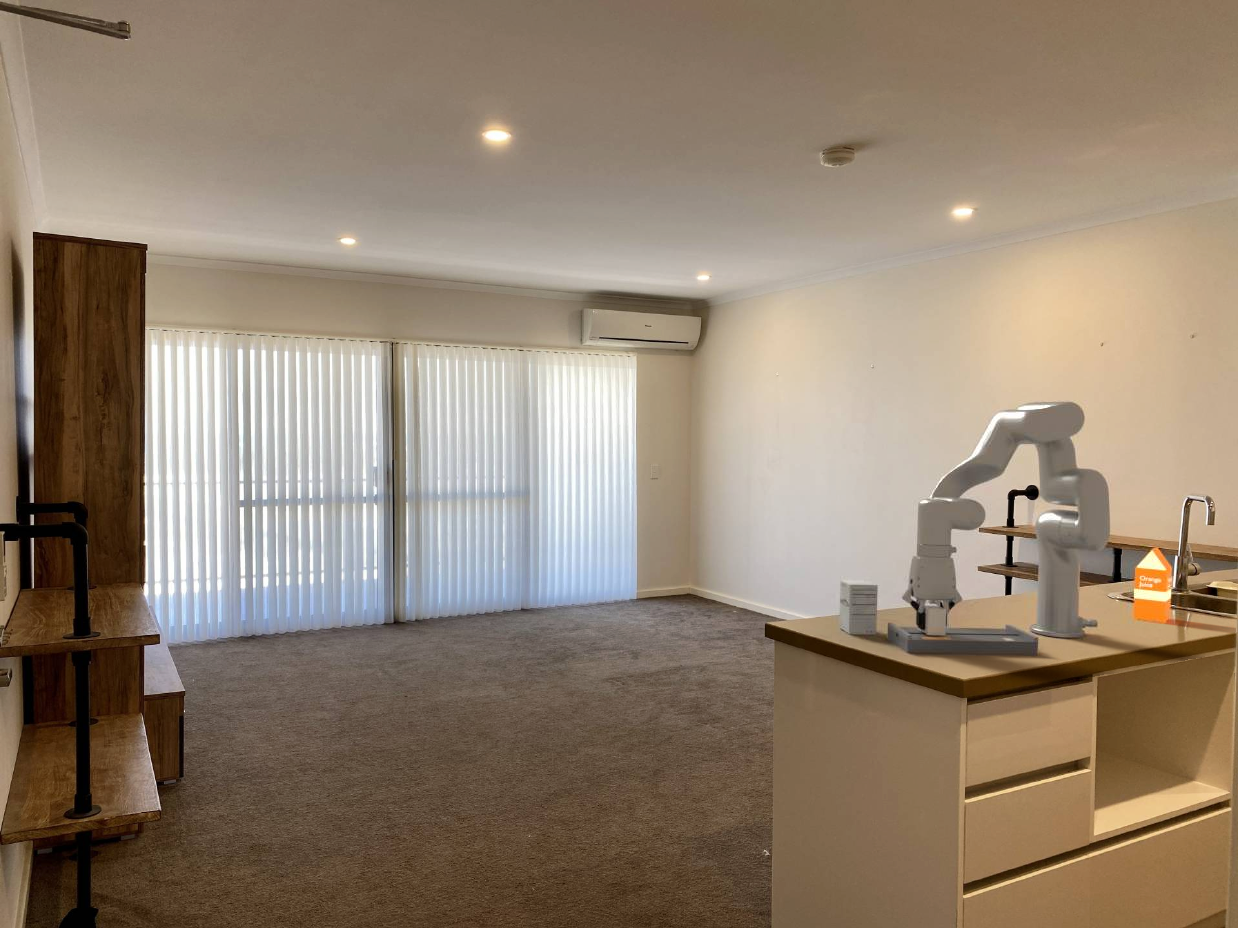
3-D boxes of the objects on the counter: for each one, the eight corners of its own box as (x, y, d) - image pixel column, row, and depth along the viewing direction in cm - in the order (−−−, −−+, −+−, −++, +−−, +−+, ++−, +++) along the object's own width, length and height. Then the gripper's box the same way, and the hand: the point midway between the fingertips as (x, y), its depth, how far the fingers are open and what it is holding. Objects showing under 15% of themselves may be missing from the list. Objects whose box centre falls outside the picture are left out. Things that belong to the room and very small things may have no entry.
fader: (933, 633, 210) (934, 603, 210) (945, 640, 203) (946, 609, 203) (917, 633, 210) (918, 603, 210) (928, 640, 203) (929, 609, 203)
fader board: (1009, 640, 214) (1009, 624, 214) (1037, 654, 200) (1038, 637, 200) (887, 638, 214) (887, 622, 213) (907, 652, 200) (907, 635, 200)
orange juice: (1132, 619, 245) (1135, 548, 245) (1139, 614, 252) (1141, 545, 252) (1165, 623, 240) (1168, 550, 240) (1170, 618, 247) (1173, 548, 246)
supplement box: (838, 628, 225) (839, 579, 225) (866, 628, 225) (867, 579, 225) (848, 634, 217) (849, 584, 217) (877, 634, 218) (878, 584, 218)
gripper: (962, 550, 210) (959, 626, 211) (892, 548, 210) (890, 624, 210) (975, 554, 203) (973, 632, 203) (903, 552, 202) (901, 631, 203)
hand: (931, 627), depth 207 cm, fingers closed on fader, 4 cm apart
